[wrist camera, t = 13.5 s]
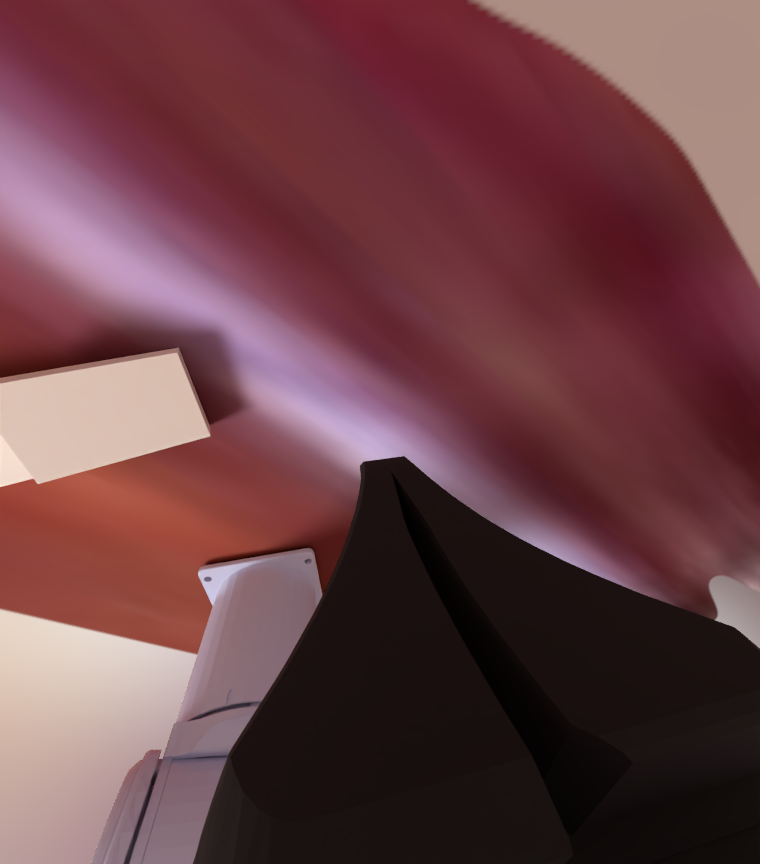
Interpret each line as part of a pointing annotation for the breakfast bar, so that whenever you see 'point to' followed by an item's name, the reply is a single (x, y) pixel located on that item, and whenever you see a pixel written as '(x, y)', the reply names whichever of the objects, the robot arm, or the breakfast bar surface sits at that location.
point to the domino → (99, 413)
